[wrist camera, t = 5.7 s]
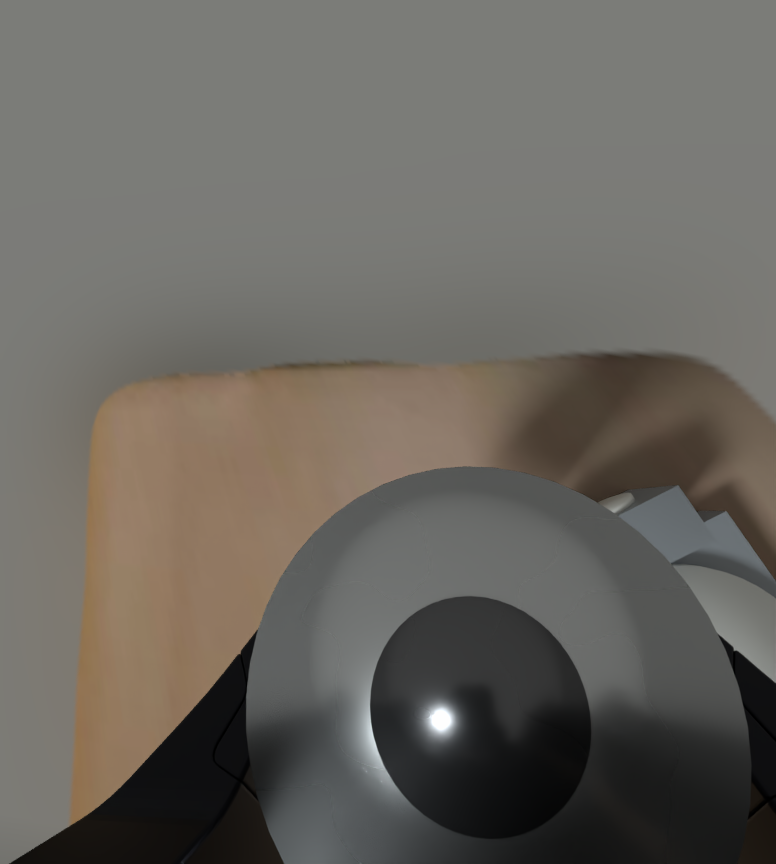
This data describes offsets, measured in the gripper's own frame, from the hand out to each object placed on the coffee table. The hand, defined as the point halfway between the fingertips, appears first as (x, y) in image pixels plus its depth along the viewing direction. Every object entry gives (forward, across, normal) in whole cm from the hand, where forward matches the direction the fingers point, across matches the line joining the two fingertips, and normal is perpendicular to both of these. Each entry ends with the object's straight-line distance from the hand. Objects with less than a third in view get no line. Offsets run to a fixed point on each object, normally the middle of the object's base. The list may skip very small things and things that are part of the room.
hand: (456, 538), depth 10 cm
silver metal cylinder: (+4, 0, +6) cm, 7 cm away
